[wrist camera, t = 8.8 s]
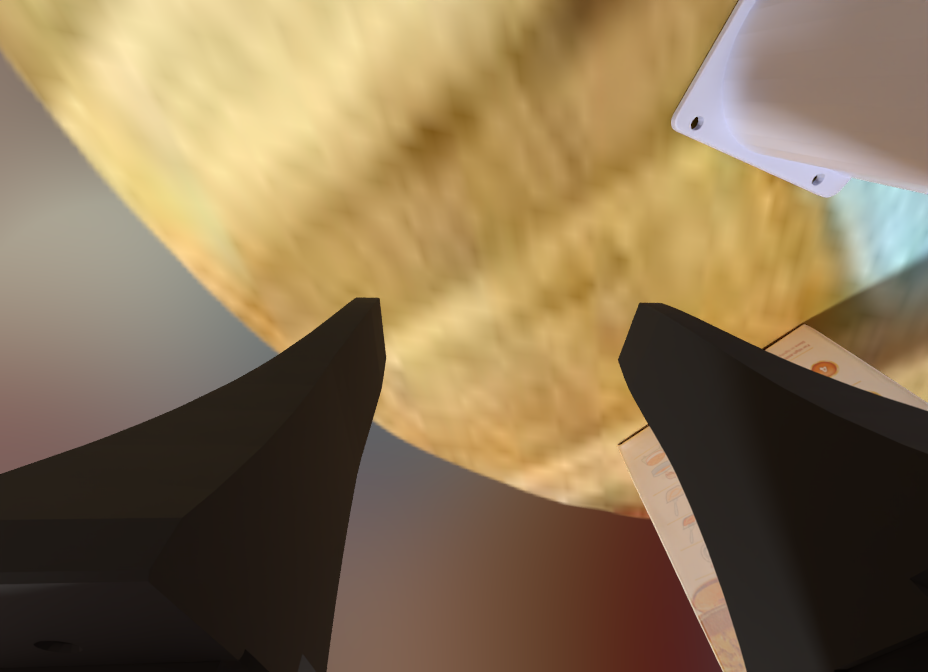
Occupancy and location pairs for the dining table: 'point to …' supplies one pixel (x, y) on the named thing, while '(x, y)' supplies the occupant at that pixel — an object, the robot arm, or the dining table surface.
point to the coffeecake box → (674, 509)
